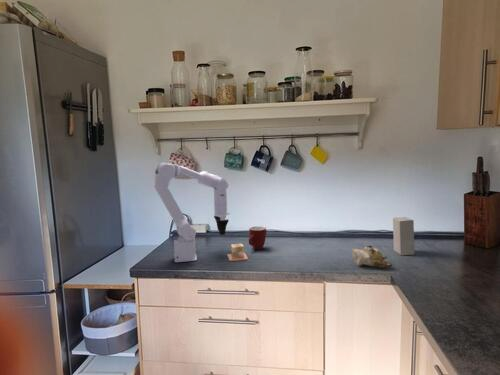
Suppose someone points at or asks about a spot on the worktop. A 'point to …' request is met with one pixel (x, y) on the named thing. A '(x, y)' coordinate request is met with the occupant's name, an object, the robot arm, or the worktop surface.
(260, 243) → the mug
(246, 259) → the coaster
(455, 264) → the worktop surface
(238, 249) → the block
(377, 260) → the ceramic sculpture
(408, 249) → the skincare box
